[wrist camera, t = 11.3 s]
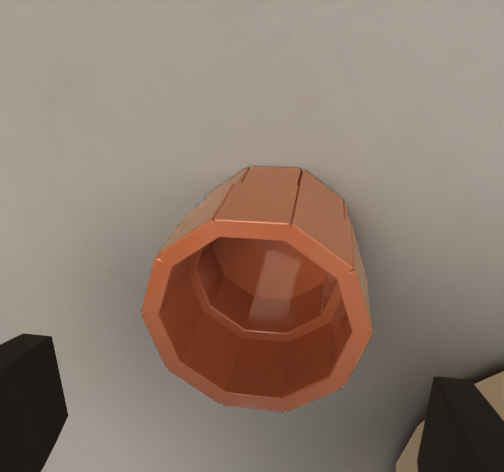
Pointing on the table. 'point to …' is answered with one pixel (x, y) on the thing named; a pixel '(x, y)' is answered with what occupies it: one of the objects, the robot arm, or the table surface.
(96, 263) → the table surface
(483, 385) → the cream bowl
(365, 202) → the table surface
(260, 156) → the table surface
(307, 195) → the terracotta pot
